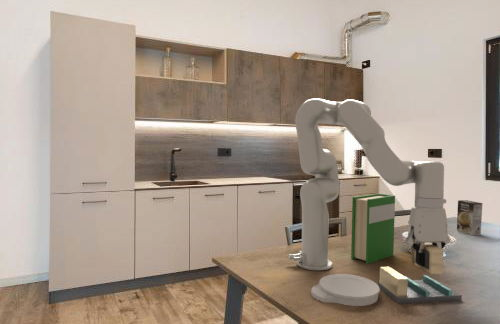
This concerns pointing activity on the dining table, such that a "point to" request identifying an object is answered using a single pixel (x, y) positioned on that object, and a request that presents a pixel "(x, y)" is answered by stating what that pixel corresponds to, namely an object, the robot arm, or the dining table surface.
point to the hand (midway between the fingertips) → (427, 264)
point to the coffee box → (469, 217)
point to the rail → (414, 288)
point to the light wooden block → (432, 259)
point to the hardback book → (373, 227)
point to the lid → (346, 290)
